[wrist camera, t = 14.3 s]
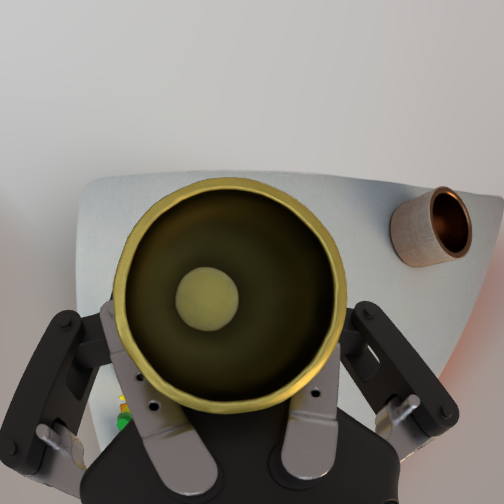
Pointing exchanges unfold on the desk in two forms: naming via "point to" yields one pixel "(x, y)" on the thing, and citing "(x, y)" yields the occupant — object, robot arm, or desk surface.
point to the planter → (432, 228)
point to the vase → (229, 296)
